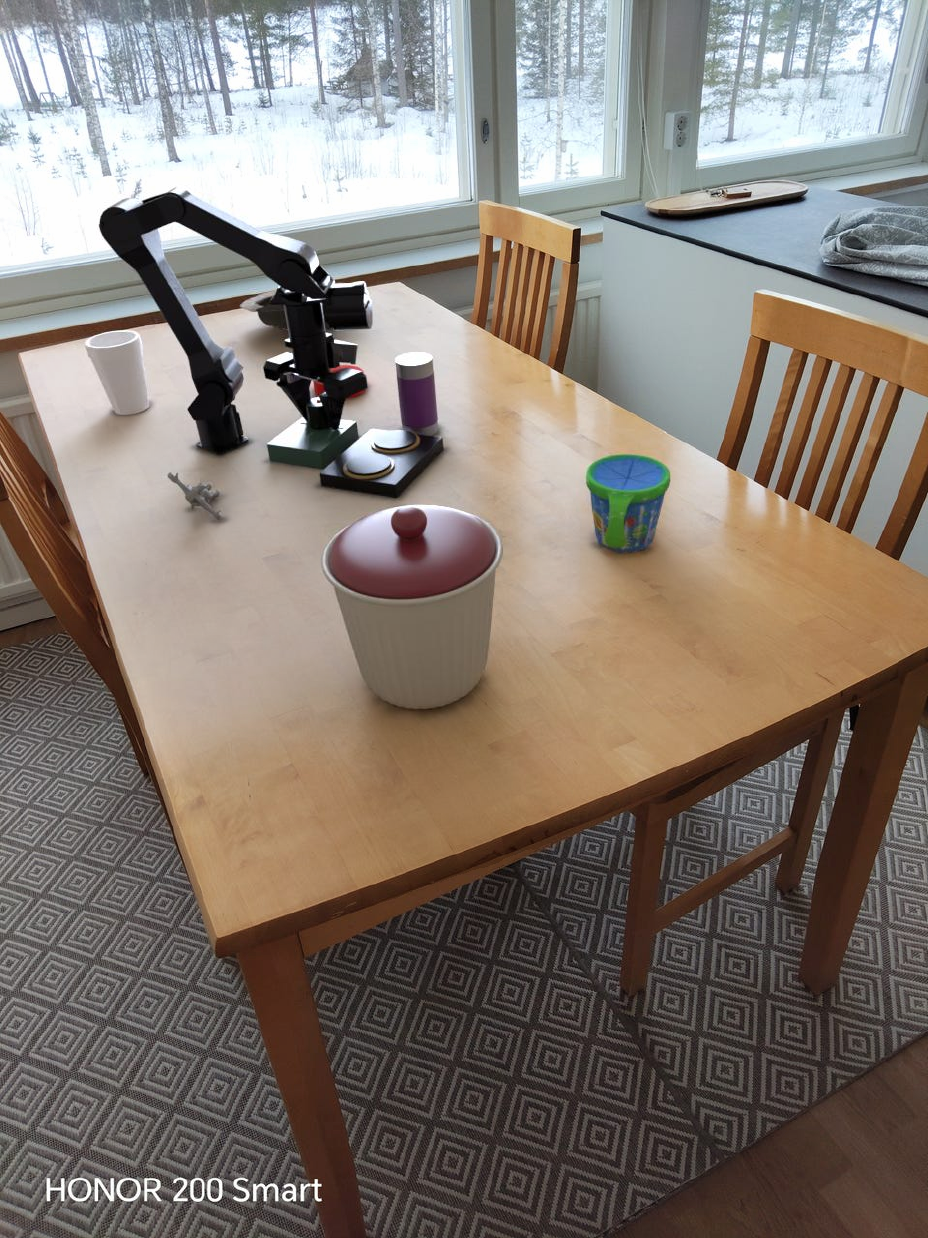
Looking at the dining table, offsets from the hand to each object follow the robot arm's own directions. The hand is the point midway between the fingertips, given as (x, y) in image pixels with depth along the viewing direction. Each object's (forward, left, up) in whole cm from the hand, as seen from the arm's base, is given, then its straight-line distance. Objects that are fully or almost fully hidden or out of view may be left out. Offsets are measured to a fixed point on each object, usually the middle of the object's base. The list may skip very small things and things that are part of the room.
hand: (322, 424), depth 150 cm
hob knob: (0, 0, 0) cm, 0 cm away
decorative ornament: (+18, +14, -3) cm, 23 cm away
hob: (-2, -15, -3) cm, 16 cm away
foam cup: (-9, +42, -3) cm, 44 cm away
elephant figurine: (-27, -2, -3) cm, 27 cm away
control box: (-3, -1, -3) cm, 4 cm away
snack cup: (0, -58, -3) cm, 58 cm away
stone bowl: (+40, +49, -3) cm, 64 cm away
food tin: (+12, -11, -3) cm, 16 cm away
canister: (-37, -55, -3) cm, 66 cm away
